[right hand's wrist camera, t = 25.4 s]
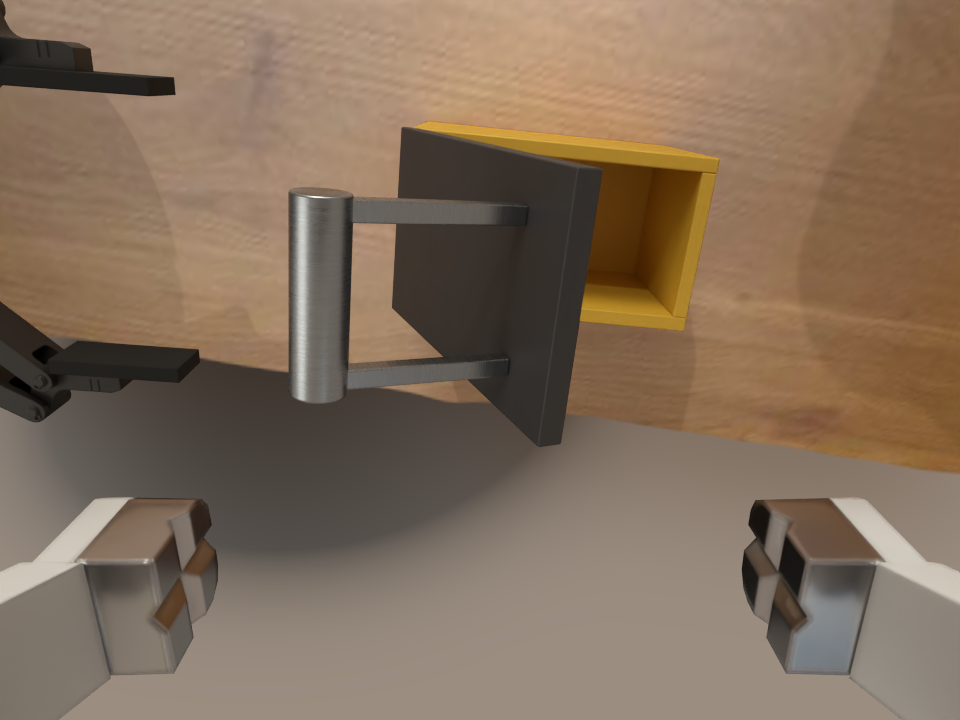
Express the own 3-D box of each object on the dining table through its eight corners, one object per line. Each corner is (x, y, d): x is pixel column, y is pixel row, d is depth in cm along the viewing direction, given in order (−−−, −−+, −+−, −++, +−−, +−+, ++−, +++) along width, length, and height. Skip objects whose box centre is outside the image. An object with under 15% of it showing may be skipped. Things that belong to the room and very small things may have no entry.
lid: (604, 168, 21) (310, 149, 17) (561, 444, 24) (307, 479, 20) (419, 128, 34) (234, 113, 31) (407, 307, 37) (239, 313, 34)
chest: (666, 145, 45) (720, 158, 35) (640, 283, 49) (684, 331, 38) (426, 121, 45) (411, 126, 35) (417, 261, 48) (400, 305, 38)
